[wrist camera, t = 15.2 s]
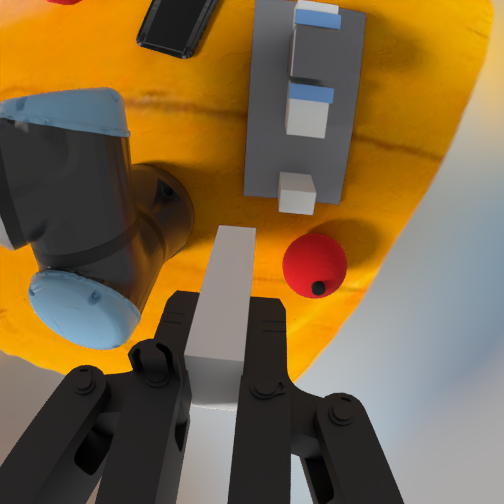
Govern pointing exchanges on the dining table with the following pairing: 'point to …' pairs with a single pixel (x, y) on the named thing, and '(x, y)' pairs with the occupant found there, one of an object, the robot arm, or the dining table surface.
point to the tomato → (65, 2)
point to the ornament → (314, 265)
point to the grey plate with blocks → (299, 109)
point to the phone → (175, 26)
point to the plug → (319, 54)
